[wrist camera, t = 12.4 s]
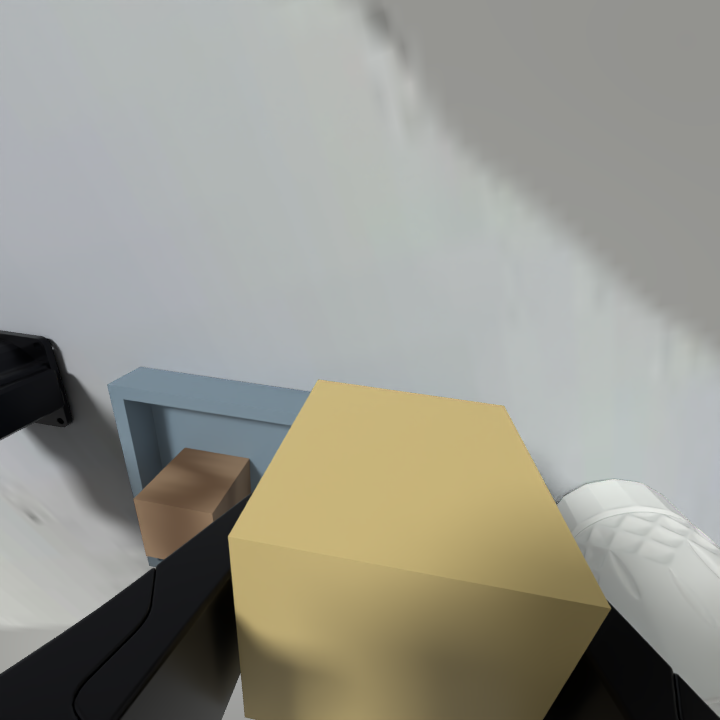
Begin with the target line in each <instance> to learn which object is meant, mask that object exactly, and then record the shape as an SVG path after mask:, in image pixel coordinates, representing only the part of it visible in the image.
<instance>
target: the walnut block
mask: <svg viewBox="0 0 720 720" xmlns="http://www.w3.org/2000/svg"><path fill="white" fill-rule="evenodd" d="M250 493H251V482H250V459H249V458H243V457H237V456H232V455H226V454H220V453H214V452H208V451H202V450H197V449H191V448H184V449H183V450H182V451H181V452H180V453H179V454H178V455H177V456H176V457H175V458H174V459H173V460H172V461H171V462H170V463H169V464H168V465H167V466H166V467H165V468H164V469H163V470H162V471H161V472H160V473H159V474H158V475H157V476H156V477H155V478H154V479H153V480H152V481H151V482H150V483H149V484H148V485H147V486H146V487H145V488H144V489H143V490H142V491H141V492H140V493H139V494H138V495H137V496H136V497H135V498H134V499H133V500H134V504H135V508H136V513H137V517H138V521H139V526H140V530H141V534H142V539H143V543H144V548H145V552H146V556H149V557H154V558H159V559H165V558H167V557H168V556H169V555H171V554H172V553H173V552H174V551H176V550H177V549H178V548H180V547H181V546H182V545H184V544H185V543H186V542H188V541H189V540H190V539H191V538H193V537H194V536H195V535H197V534H198V533H199V532H201V531H202V530H203V529H205V528H206V527H207V526H208V525H210V524H211V523H212V522H214V521H215V520H216V519H218V518H219V517H220V516H222V515H223V514H224V513H225V512H227V511H228V510H229V509H231V508H232V507H233V506H235V505H236V504H237V503H239V502H240V501H241V500H242V499H244V498H245V497H246V496H248V495H249V494H250Z"/></svg>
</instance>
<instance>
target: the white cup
mask: <svg viewBox="0 0 720 720" xmlns="http://www.w3.org/2000/svg"><path fill="white" fill-rule="evenodd" d="M557 507H558V509H559V511H560V513H561V515H562V517H563V518H564V520H565V522H566V524H567V526H568V528H569V530H570V532H571V534H572V535H573V537H574V539H575V541H576V543H577V545H578V547H579V549H580V551H581V552H582V554H583V556H584V558H585V560H586V562H587V564H588V566H589V568H590V569H591V571H592V573H593V575H594V577H595V579H596V581H597V583H598V585H599V586H600V588H601V590H602V592H603V594H604V596H605V598H606V599H607V600H608V601H609V602H610V603H611V604H612V605H613V607H614V608H615V609H616V610H617V611H618V612H619V613H620V614H621V615H622V616H623V617H624V618H625V619H626V620H627V621H628V622H629V623H630V624H631V625H632V626H633V628H634V629H635V630H636V631H637V632H638V633H639V634H640V635H641V636H642V637H643V638H644V639H645V640H646V641H647V642H648V643H649V644H650V645H651V646H652V647H653V649H654V650H655V651H656V652H657V653H658V654H659V655H660V656H661V657H662V658H663V659H664V660H665V661H666V662H667V663H668V664H669V665H670V666H671V668H672V669H673V673H677V674H678V675H679V676H680V677H681V678H682V679H683V680H684V681H685V682H686V683H687V684H688V685H689V686H690V687H691V688H692V689H693V690H694V691H695V692H696V693H697V694H698V696H699V697H700V698H701V699H702V700H703V701H704V702H705V703H706V704H707V705H708V706H709V707H710V708H711V709H712V710H713V711H714V712H715V713H716V714H717V715H718V716H719V717H720V547H719V546H718V545H717V544H716V543H714V542H713V541H712V540H711V539H710V538H709V537H708V536H707V535H705V534H704V533H703V532H702V531H701V530H699V529H698V528H697V527H696V526H694V525H693V524H692V523H691V522H690V521H689V520H688V519H687V518H686V517H685V516H684V515H683V514H682V513H681V512H680V511H679V510H678V509H677V508H676V507H675V506H674V505H673V504H672V503H671V502H670V501H668V500H667V499H666V498H665V497H664V496H663V495H661V494H660V493H658V492H656V491H655V490H653V489H651V488H650V487H648V486H646V485H645V484H643V483H640V482H633V481H625V480H618V479H610V480H605V481H599V482H594V483H589V484H585V485H583V486H581V487H579V488H578V489H576V490H574V491H572V492H570V493H569V494H567V495H565V496H564V497H563V498H562V499H561V500H560V502H559V503H558V504H557Z"/></svg>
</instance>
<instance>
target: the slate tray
mask: <svg viewBox="0 0 720 720" xmlns="http://www.w3.org/2000/svg"><path fill="white" fill-rule="evenodd" d="M107 386H108V390H109V394H110V399H111V403H112V407H113V412H114V416H115V420H116V425H117V429H118V433H119V437H120V442H121V446H122V450H123V455H124V459H125V463H126V467H127V472H128V476H129V480H130V485H131V489H132V493H133V498H135V497H136V496H137V495H138V494H139V493H140V492H141V491H142V490H143V489H144V488H145V487H146V486H147V485H148V484H149V483H150V482H151V481H152V480H153V479H154V478H155V477H156V476H157V475H158V474H159V473H160V472H161V471H162V470H163V469H164V468H165V467H166V466H167V465H168V464H169V463H170V462H171V461H172V460H173V459H174V458H175V457H176V456H177V455H178V454H179V453H180V452H181V451H182V450H183V449H184V448H191V449H197V450H202V451H208V452H214V453H220V454H226V455H232V456H237V457H243V458H249V459H250V482H251V493H252V492H253V491H254V490H255V489H256V487H257V485H258V483H259V482H260V480H261V478H262V476H263V475H264V473H265V471H266V470H267V468H268V466H269V464H270V463H271V461H272V459H273V457H274V456H275V454H276V452H277V450H278V449H279V447H280V445H281V443H282V442H283V440H284V438H285V436H286V435H287V433H288V431H289V429H290V428H291V426H292V424H293V422H294V421H295V419H296V417H297V416H298V414H299V412H300V410H301V409H302V407H303V405H304V403H305V402H306V400H307V398H308V396H309V395H310V393H311V392H308V391H301V390H294V389H287V388H280V387H273V386H267V385H260V384H253V383H246V382H239V381H233V380H226V379H219V378H212V377H205V376H199V375H192V374H185V373H178V372H171V371H165V370H158V369H151V368H144V367H139V368H137V369H136V370H134V371H132V372H130V373H128V374H126V375H124V376H122V377H121V378H119V379H117V380H115V381H113V382H111V383H109V384H108V385H107ZM147 558H148V562H149V566H153V567H156V566H157V564H159V563H160V562H161V561H163V560H164V559H159V558H154V557H149V556H147Z"/></svg>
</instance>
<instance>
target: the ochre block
mask: <svg viewBox="0 0 720 720" xmlns="http://www.w3.org/2000/svg"><path fill="white" fill-rule="evenodd" d="M228 541H229V552H230V563H231V573H232V584H233V595H234V606H235V616H236V627H237V638H238V648H239V659H240V670H241V680H242V691H243V702H244V712H245V717H246V718H251V719H255V720H543V719H544V717H545V715H546V714H547V712H548V710H549V709H550V707H551V706H552V704H553V702H554V701H555V699H556V697H557V696H558V694H559V693H560V691H561V689H562V688H563V686H564V684H565V683H566V681H567V680H568V678H569V676H570V675H571V673H572V671H573V670H574V668H575V667H576V665H577V663H578V662H579V660H580V658H581V657H582V655H583V654H584V652H585V650H586V649H587V647H588V645H589V644H590V642H591V641H592V639H593V637H594V636H595V634H596V632H597V631H598V629H599V628H600V626H601V624H602V623H603V621H604V619H605V618H606V616H607V615H608V613H609V611H610V610H611V607H610V605H609V603H608V602H607V600H606V598H605V596H604V594H603V592H602V590H601V588H600V586H599V585H598V583H597V581H596V579H595V577H594V575H593V573H592V571H591V569H590V568H589V566H588V564H587V562H586V560H585V558H584V556H583V554H582V552H581V551H580V549H579V547H578V545H577V543H576V541H575V539H574V537H573V535H572V534H571V532H570V530H569V528H568V526H567V524H566V522H565V520H564V518H563V517H562V515H561V513H560V511H559V509H558V507H557V505H556V503H555V501H554V500H553V498H552V496H551V494H550V492H549V490H548V488H547V486H546V484H545V483H544V481H543V479H542V477H541V475H540V473H539V471H538V469H537V467H536V466H535V464H534V462H533V460H532V458H531V456H530V454H529V452H528V450H527V449H526V447H525V445H524V443H523V441H522V439H521V437H520V435H519V433H518V432H517V430H516V428H515V426H514V424H513V422H512V420H511V418H510V416H509V414H508V413H507V411H506V409H505V407H504V406H501V405H494V404H487V403H480V402H473V401H466V400H459V399H452V398H445V397H437V396H430V395H423V394H416V393H409V392H402V391H395V390H388V389H381V388H374V387H367V386H360V385H353V384H346V383H338V382H331V381H324V380H318V381H317V382H316V384H315V386H314V388H313V389H312V391H311V393H310V395H309V396H308V398H307V400H306V402H305V403H304V405H303V407H302V409H301V410H300V412H299V414H298V416H297V417H296V419H295V421H294V422H293V424H292V426H291V428H290V429H289V431H288V433H287V435H286V436H285V438H284V440H283V442H282V443H281V445H280V447H279V449H278V450H277V452H276V454H275V456H274V457H273V459H272V461H271V463H270V464H269V466H268V468H267V470H266V471H265V473H264V475H263V476H262V478H261V480H260V482H259V483H258V485H257V487H256V489H255V490H254V492H253V494H252V496H251V497H250V499H249V501H248V503H247V504H246V506H245V508H244V510H243V511H242V513H241V515H240V517H239V518H238V520H237V522H236V524H235V525H234V527H233V529H232V530H231V532H230V534H229V536H228Z"/></svg>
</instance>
